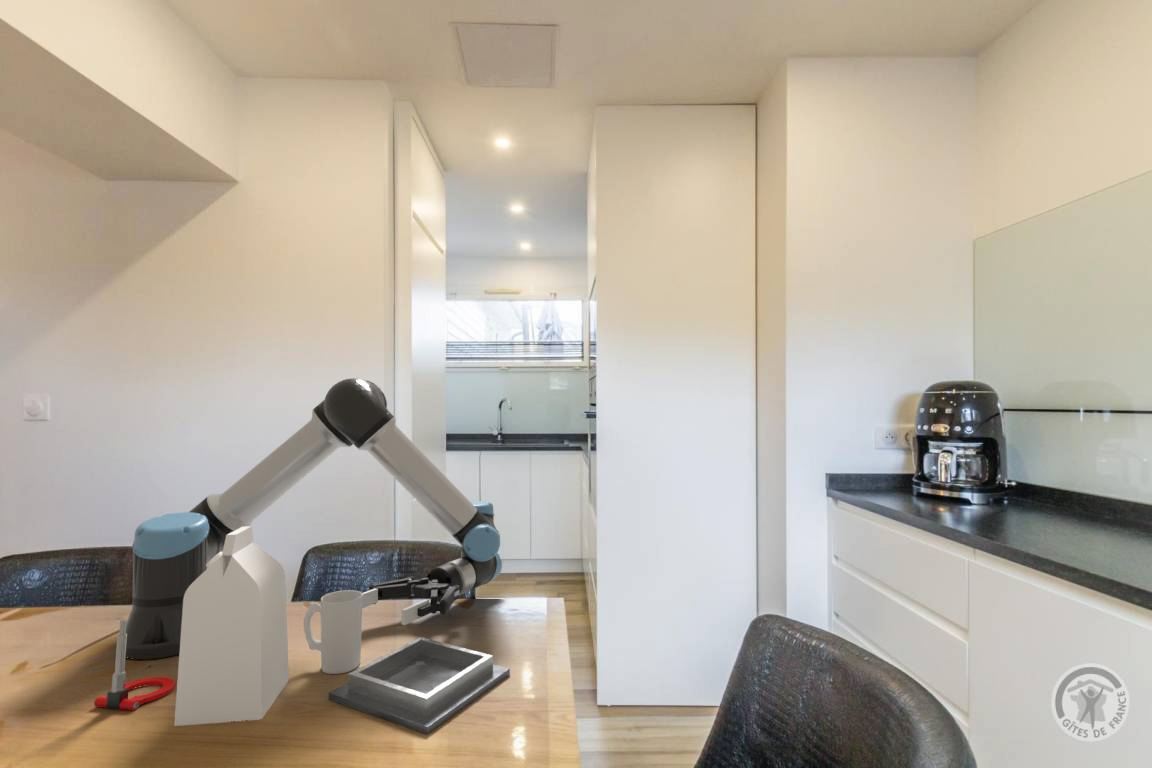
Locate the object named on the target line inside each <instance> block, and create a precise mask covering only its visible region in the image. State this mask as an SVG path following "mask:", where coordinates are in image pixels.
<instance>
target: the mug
mask: <svg viewBox="0 0 1152 768" xmlns="http://www.w3.org/2000/svg"><path fill="white" fill-rule="evenodd" d="M362 593H363V592H362V591H359V590H356V589H355V590H353V589H348V590H347V589H346V590H345V589H344V590H338V591H332V592H328V593H326V594H324V595H322V596H321V598H320V603H319V602H318V601H317V602H316V601H315V602H314V601H311V602H309V606H308V609H307V610H306V613H305V615H304V619H303V631H304V636H305V639H306V642H307V645H308V647H309V649H310V651H311V650H313V651H319V652H320V660H321V667H320V668H321V671H322V672H323V673H325V674H328V675H341V674H345V673H348V672H349V673H350V672H353V671H355V670H356V669H358V667H359V666H360V664H361V653H362V651H361V650H362V623H363V621H362V620H363V608H362V596H363V594H362ZM315 613H320V640H319V639H316V637H315V636H314V634H313V631H312V628H311V621H312V617H313V615H314V614H315Z"/></svg>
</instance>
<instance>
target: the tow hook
mask: <svg viewBox="0 0 1152 768" xmlns="http://www.w3.org/2000/svg"><path fill="white" fill-rule="evenodd" d="M127 620H128V619H127V618H126V619H120V620H119V630H118V631H119V633H118V634H117V637H116V648H115V649H116V651H115V663H114V673H112V678H111V679H112V680H111V690H109V691H107V695H105V696H103V695H99V696H97V697H96V698H95V700H94V703H93V705H94V707H99V708H105V709H108V708H109V709H108V710H116V709H121V710H124V711H125V710H126V711H136V710H135V709H137V708H138V709H139V707H140V706H141V705H142V704H146V703H149V702H152V701H156V700H159V699H161V698H163V697H165V696H167V695H168V694H170V693H171V692H173V691H174V690H173V689H175V688H176V681H175V680H174V679H173V678H171V677H167V676H154V677H146V678H140V679H136V680H131V681H129V682H126V681H127V671H126V670H125V669H126V659H127V658H126V645H127V633H126V623H127ZM144 685H149V686H159V685H161V686H160V687H161V688H159V689H157V690H155V691H151V692H149V693H145V694H141V695H136V696H133V697H130V698H129V691H131V690H130V689H132V690H134V689H133V688H135V687H138V688H140V687H139V686H143V687H145V686H144ZM162 686H163V687H162ZM174 687H175V688H174ZM135 689H136V688H135ZM138 709H137V710H138Z"/></svg>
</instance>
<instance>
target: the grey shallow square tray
mask: <svg viewBox="0 0 1152 768" xmlns="http://www.w3.org/2000/svg"><path fill="white" fill-rule="evenodd" d="M510 671H511V669H510V668H509V667H506V666H502V665H499V664H494V655H492V654H487V653H484V652H481V651H477V650H472V649H469V648H465V647H460V646H458V645H452V644H449V643H445V642H441V641H438V640H435V639H434V640H433V639H429V638H427V637H422V636H420V637H417V638H416V639H415V640H412V641H409V643H406V644H404V645H402V646H400V647H398V648H397V649H394V650H393V651H390V652H389V653H386V654H384V655H383V656H381V657H378V658H376V659H375V660H373V661H371V662H369V663H366V664H365V665H363V666H361V667H359V668H356V669H354V670H352V671H350V672H349V673H348V674H347V675H348V676H347V681H348V682H346V683H344V684H342V685H340V686H339V687H337V688H335V689H333V690H331V691H329V692H328V694H327V695H328V698H327V699H328V700H329V701H333V702H335V703H338V704H341V705H344V706H346V707H348V708H352V709H355V710H357V711H360V712H363V713H366V714H369V715H372V716H374V717H376V718H380V719H382V720H386V721H387V722H391V723H393V724H397V725H399V726H402V727H405V728H408V729H411V730H414V731H416V732H419V733H421V734H424V735H429V734H430V733H432V732H433V731H434V730H436V729H437V728H438V727H440V726H441V725H442V724H444V723H445V722H446V721H448V720H449V719H452V718H453V716H454V715H457V713H459V712H460V711H462V710H463V709H465V707H467V706H468V705H470V704H471V703H473V702H474V701H476V700H477V699H478V698H480V697H481V696H483V695H484V694H485V693H487V692H488V691H490V689H492V688H493V687H494V686H496V685H498V684H499V683H500V682H501V681H503V680H505V678H508V676H510V673H511V672H510Z"/></svg>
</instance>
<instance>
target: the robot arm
mask: <svg viewBox="0 0 1152 768" xmlns="http://www.w3.org/2000/svg"><path fill="white" fill-rule="evenodd" d="M311 415H312V416H311V419H310V420H309V421H308V422H307V423H306V424H304V425H303V426H302V427H301V428H299V429H298V430H297V431H296V432H295V433H294V434H292V435H291V436H290V437H289V438H288V439H286V440H285V441H284V442H282V444H281V445H279V446H278V447H277V448H275V449H274V450H273V451H272V452H271V453H269V454H268V455H267V456H266V457H264V459H262V460H261V461H260V462H259V463H257V464H256V465H255V466H254V467H252V468H251V469H250V470H249V471H248V472H247V473H245V474H244V475H243V476H242V477H240V478H239V479H238V480H237V481H236V482H234V483H233V484H232V485H231V486H230V487H229V488H227V490H225V491H224V492H223V493H211V494H208V495H207V496H206V497H205V498H204V499H203V500H202V501H200V502H199V503H198V504H197V505H196V506H194V507H193V508H192V509H191V510H189V511H188V512H174V513H167V514H163V515H161V516H156V517H152V518H150V519H147V520H145V521H143V522H142V523H141V524H139V525H138V526H137V527H136V529H135V531H134V538H133V543H132V556H133V557H132V603H131V604H132V606H131V610H130V613H129V615H128V618H127V619H126V620H127V622H126V633H127V645H126V657H128V658H133V659H132V660H138V659H143V660H155V658H156V659H161V658H167V657H168V658H169V657H172V656H177V655H179V653H180V639H181V625H182V611H183V599H184V594H185V592H186V590H187V589H188V587H189V586H190V585H191V584H192V583H193V582H194V581H195V580H196V579H197V578H198V577H199V576H200V575H201V574H202V573H203V572H204V571H206V570H207V569H208V567H207V566H206V564H207V563H208V562H209V561H210V560H211V559H212V558H213V557H214V556H215V555H217V554H218V553H219V552H221V551H222V552H223V548H224V543H225V539H226V535H227V534H229V533H231V532H233V531H235V530H237V529H239V528H241V527H245V526H252V523H253V521H255V520H256V519H257V518H258V517H260V515H262V514H263V513H264V512H265V511H267V509H269V508H270V507H271V506H272V505H273V504H274V503H275V502H277V501H278V500H279V499H280V498H281V497H283V496H284V495H285V494H286V493H288V491H290V490H291V489H293V487H295V486H296V484H298V483H299V482H300V481H301V480H303V479H304V478H305V477H306V476H307V475H309V474H310V473H311V472H312V471H313V470H314V469H315V468H317V467H318V466H319V465H320V464H321V463H323V462H324V461H325V460H326V459H327V458H328V457H330V456H331V455H333V453H334V452H336V451H337V450H338V449H340V448H351V447H352V446H353V445H354V446H355V447H356V448H357V449H358V450H359V451H365V452H368V453H369V454H370V455H371V456H372V457H373V458H374V459H375V460H376V461H377V462H378V463H379V464H380V465H381V466H382V467H383V468H384V469H385V470H386V471H387V472H388V473H389V474H390V475H391V476H392V477H393V478H394V479H395V480H396V481H397V482H398V483H399V484H400V485H401V486H402V487H403V488H404V489H405V490H406V491H407V492H408V493H409V495H411V496H412V497H413V498H414V500H416V501H417V502H418V503H419V504H420V505H421V506H422V507H423V508H424V509H425V510H426V511H427V512H428V513H429V514H430V515H431V516H432V517H433V518H434V519H435V520H436V521H437V522H438V523H439V524H440V525H441V527H443V528H444V529H445V530H446V531H447V532H448V533H449V534H450V535H451V536H452V537H453V538H454V540H455V541H457V543H459V544H460V545H461V546H460V551H461V553H460V558H457V559H454V560H451V561H448V562H446V563H444V564H441V565H438V566H436V567H433V568H432V569H430V570H429V572H428V574H427V575H426V577H421V578H420V579H415V576H412V575H411V576H408V577H405V578H400V579H395V580H389V581H385V582H378V583H374V584H373V583H372V584H369V585H368V590H367V591H365V592H361V593H362V594H363V596H362V609H365V608H367V607H369V606H372V605H376V604H377V603H378V602H379V601H382V600H383V601H384V600H390V599H398V598H407V599H409V600H410V599H418V598H420V599H423V600H421V601H419V602H415V603H414V604H412V605H409V606H407V607H404V608H403V609H401V625H402V626H406V625H409V624H410V623H413V622H415V621H417V620H420V619H421V618H423V617H425V616H428V615H430V614H432V615H433V614H434V615H435V614H437V612H439V614H440V615H446V614H447V613H448V611H449V609H451V607H452V605H453V604H454V602H455V601H457V600H458V599H460V596H461V595H464V594H465V593H467V592H469V591H472V590H474V589H476V588H478V587H481V586H483V585H487V584H488V583H490V582H491V581H493V580H495V579H496V578H498V576H499V575H500V573H501V571H502V568H503V561H502V559H501V557H500V556H501V555H500V554H499V553H498V551H499V550H500V546H501V536H500V535H501V534H500V532H499V530H497V527H496V526H495V523H494V521H495V520H494V516H495V513H494V505H493V503H492V502H490V501H487V500H486V501H484V500H475V501H472V500H471V501H470V500H469V499H468V498H467V497H466V496H465V494H463V493H462V492H461V491H460V490H459V488H457V487H456V486H455V485H454V484H453V483H452V482H451V481H450V480H449V479H448V478H447V477H446V476H445V474H444V473H442V471H441V470H440V469H439V468H438V467H437V466H436V465H435V464H434V463H433V462H432V461H431V460H430V459H429V458H428V457H427V456H426V455H425V454H424V452H422V451H421V450H420V449H419V447H417V446H416V445H415V444H414V443H413V441H411V440H410V439H409V437H408V436H407V435H406V434H405V433H404V432H403V431H402V430H401V428H399V427H398V426H397V425H396V420H397V419H396V417H395V416H394V415H393V414H392V413H391V412H390V411H389V409H388V403H387V398H386V396H385V394H384V392H383V391H382V389H381V388H380V386H378V385H377V384H375V382H372V381H369V380H365V379H361V378H353V377H352V378H346V379H343V380H341V381H340V380H339V381H338V382H337V383H335V384H333V385H332V386H331V388H329V389H328V391H327V393H326V395H325V397H324V399H323V400H322V401H321V402H320V403H319V404H318V405H316V406H315V407H314V408H313V409H312V413H311ZM412 591H413V593H412ZM128 658H127V659H128Z"/></svg>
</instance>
